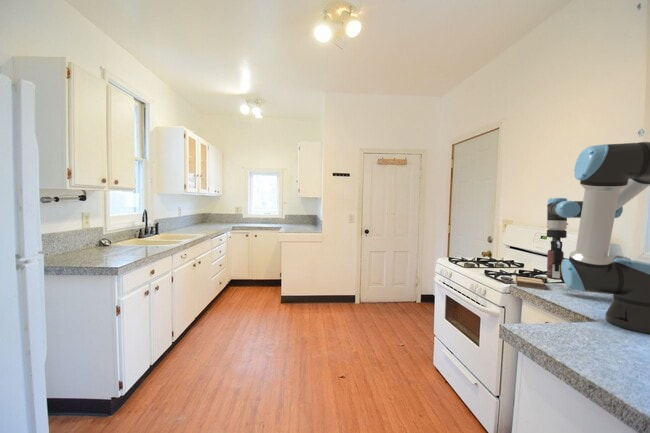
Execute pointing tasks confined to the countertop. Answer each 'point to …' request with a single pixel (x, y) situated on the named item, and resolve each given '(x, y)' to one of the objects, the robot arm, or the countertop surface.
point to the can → (550, 265)
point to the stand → (530, 283)
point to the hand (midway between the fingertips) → (555, 277)
